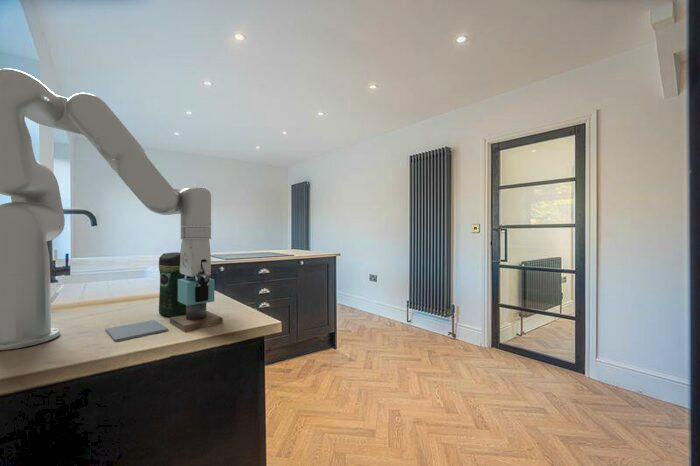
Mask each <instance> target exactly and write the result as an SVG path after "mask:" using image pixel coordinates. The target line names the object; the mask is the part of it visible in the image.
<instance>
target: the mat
mask: <svg viewBox="0 0 700 466" xmlns="http://www.w3.org/2000/svg"><path fill="white" fill-rule="evenodd" d="M104 329H105V332H106V333H107V335H108V336H109V337H110V338H111V339H112V340H113V341H114V342H115V343H116V342H122V341H125V340H131V339H135V338H140V337H144V336H149V335H153V334H154V335H155V334H159V333H163V332H167V331H169V329H168V327H166V326H164V325H163V324H162V323H160V322H159V321H157V320H156V319H153V320H152V319H151V320H146V321H141V322H136V323H129V324H125V325H119V326H118V325H117V326H113V327H107V328H104Z"/></svg>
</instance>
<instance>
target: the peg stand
mask: <svg viewBox="0 0 700 466" xmlns="http://www.w3.org/2000/svg"><path fill="white" fill-rule="evenodd" d="M169 323H170V324H171V325H172V326H174V327H176V328H177V329H178V330H180V331H182V332H188V331H193V330H198V329H201V328H207V327H212V326H215V325H219V324H223V317H222V316H220V315H217V314H215V313H214V312H211V311H208V310H207V303H201V304H195V305H189V306H187V305H186V315H182V316H174V317H171V316H170V317H169Z"/></svg>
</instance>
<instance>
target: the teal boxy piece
mask: <svg viewBox="0 0 700 466" xmlns="http://www.w3.org/2000/svg"><path fill="white" fill-rule="evenodd" d="M199 279H200V280H201V278H199ZM209 279H210V280H209V286H208V300H207V301H202V302H196V301H195V287H197V284H196V279H195V278H185V279H178V302H181V303H183V304H185V305H187V306H189V305H195V304H201V303H206V304H207V303H213V302H215V279H213V278H211V277H210V278H209Z"/></svg>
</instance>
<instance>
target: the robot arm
mask: <svg viewBox="0 0 700 466" xmlns="http://www.w3.org/2000/svg"><path fill="white" fill-rule="evenodd" d="M25 118H26V119H28V120H29V121H31V122H34V123H36V124H38V125H42V126H45V127H48V128H53V129H55V130H60V131H65V132H67V133H68V132H69V133H74V134H77V135H81V136H84V137H85V138H87V140H88V141H89V142H90V143H91V145H92V146H93V147H94V148H95V149H96V151H98V153H99V154H100V155H101V156H102V158H103V159H104V160H105V162H106V163H107V164H108V165H109V167H110V168H111V169H112V170H114V172H115V173H116V174H117V175H118V176H119V178H121V180H122V181H123V183H124V184H125V185H126V186H127V187H128V188H129V190H130V191H131V192H132V193H133V194H134V196H135V197H136V198H137V199H138V201H140V202H141V203H142V204H143V205H144V207H146V208H147V209H148V210H149V211H151V212H152V213H155V214H159V215H163V216H169V215H180V240H181V244H180V252H179V253H180V273H181V274H183V275H184V279H185V278H195V279H196V284H197V287H195V301H196V302H202V301H207V300H208V286H209V280H210V279H209V278H211V275H212V272H211V270H212V267H211V266H212V264H211V263H212V257H211V245H210V244H211V243H210V240H212V193H211V191H210V190H208V189H206V188H200V187H186V188H183V189H180V188H179V189H177V188H174V187H173V186H172V185H171V184H170V183H169V182H168V181H167V179H166V178H165V177H164V176H163V175H162V173H161V172H160V171H159V170H158V169H157V168H156V166H155V164H153V163H152V161H151V160H150V158H149V157H148V156H147V154H146V152H145V149H144V148H143V147H142V145H141V144H140V143H139V141H138V140H137V139H136V137H134V136H133V134H132V133H131V132H130V131H129V129H128V128H127V127H126V125H124V124H123V122H122V121H121V120H120V118H119V117H118V116H117V115H116V114H115V112H114V110H112V109H111V107H109V106H108V104H107V103H106V102H105V101H103V99H101V98H100V97H98V96H96V95H94V94H92V93H88V92H79V93H75V94H73V95H72V96H70V97H65V96H62V95H58V94H55V92H53V91H52V90H51V89H50V88H49V87H47V86H46V85H45V84H43V83H42V82H41V81H40V80H39V79H37V78H35V77H34V76H32V74H28V73H26V72H24V71H21V70H19V69H14V68H0V195H1V196H7V197H10V200H11V201H10V202H6V203H5V202H4V203H2V204H0V351H6V350H7V351H8V350H9V351H10V350H15V349H22V348H26V347H31V346H35V345H39V344H43V343H45V342H46V343H47V342H49V341H51V340H54V339H56V338H57V337H58V336H59V335H60V334H61V333H60V332H61V330H60V328H57V327H52V320H51V319H52V318H51V317H52V316H51V315H52V304H51V258H50V252H49V247H48V242H49V241H53V240H54V239H56V238H57V237H59V236H60V235H61V234H62V233H63V232H64V229H65V224H66V223H65V221H66V220H65V213H64V208H63V207H64V206H63V203H62V198H61V192H60V186H59V182H58V180H57V177H56V176H55V174H54V172H53V171H52V170H51V169H50V168H49V167H47V166H46V165H45V164H42V163H40V162H39V161H37V159H36V156H35V153H34V149H33V142H32V136H31V134H30V131H29V128H28V127H27V123H26V121H25ZM199 278H201V280H200V279H199Z"/></svg>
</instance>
